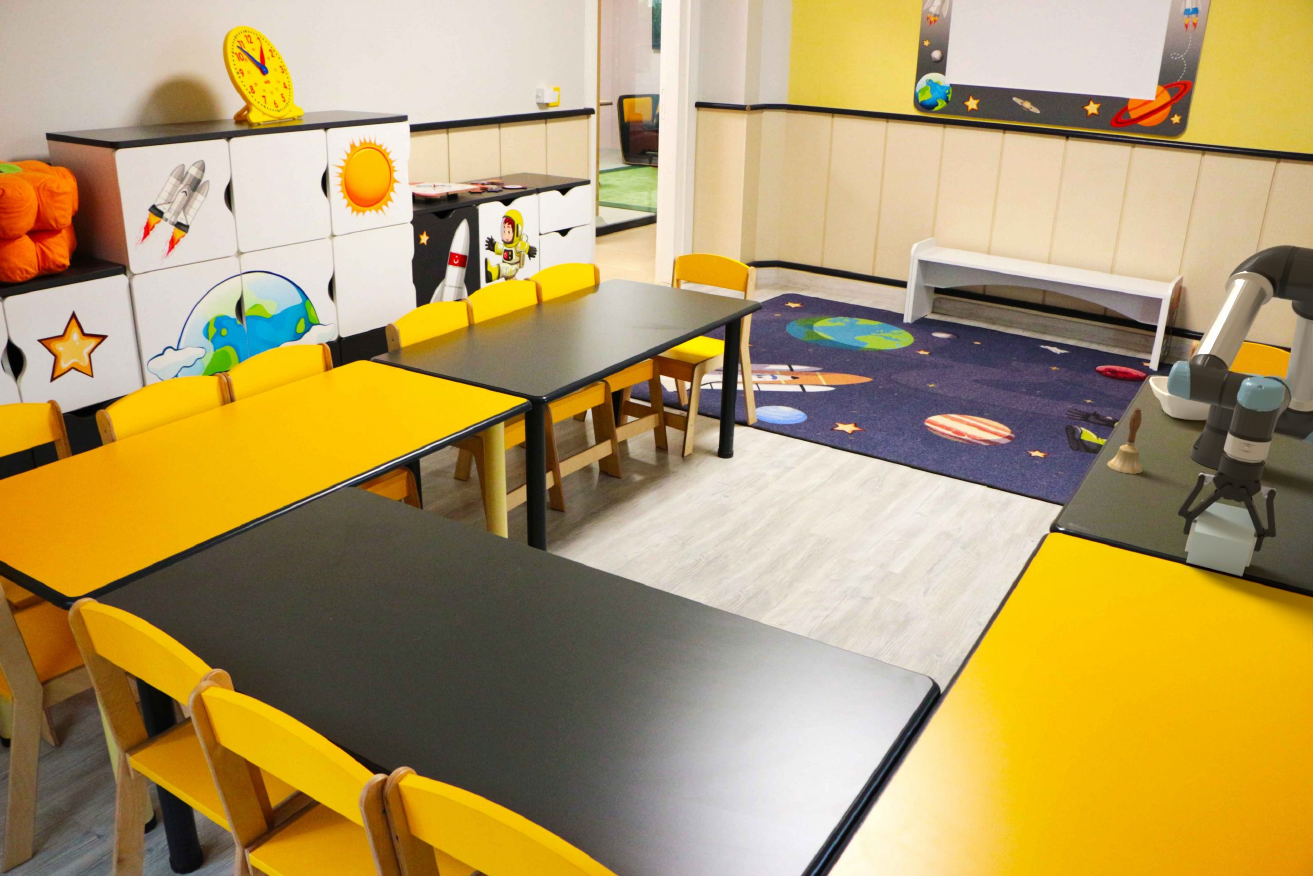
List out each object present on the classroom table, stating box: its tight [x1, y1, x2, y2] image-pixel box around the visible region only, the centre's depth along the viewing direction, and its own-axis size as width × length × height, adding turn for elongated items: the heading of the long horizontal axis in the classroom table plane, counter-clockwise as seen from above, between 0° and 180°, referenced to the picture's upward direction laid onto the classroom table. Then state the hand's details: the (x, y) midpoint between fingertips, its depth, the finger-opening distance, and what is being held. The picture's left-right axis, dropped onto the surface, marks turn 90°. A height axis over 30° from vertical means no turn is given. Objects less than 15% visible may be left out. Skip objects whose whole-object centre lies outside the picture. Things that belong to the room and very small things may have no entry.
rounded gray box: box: [1186, 499, 1256, 577], centre depth 207 cm, size 10×10×9 cm
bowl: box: [1148, 376, 1211, 421], centre depth 295 cm, size 21×21×9 cm
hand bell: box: [1106, 407, 1144, 475], centre depth 254 cm, size 8×8×16 cm
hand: (1216, 556), depth 208 cm, fingers closed on rounded gray box, 10 cm apart
